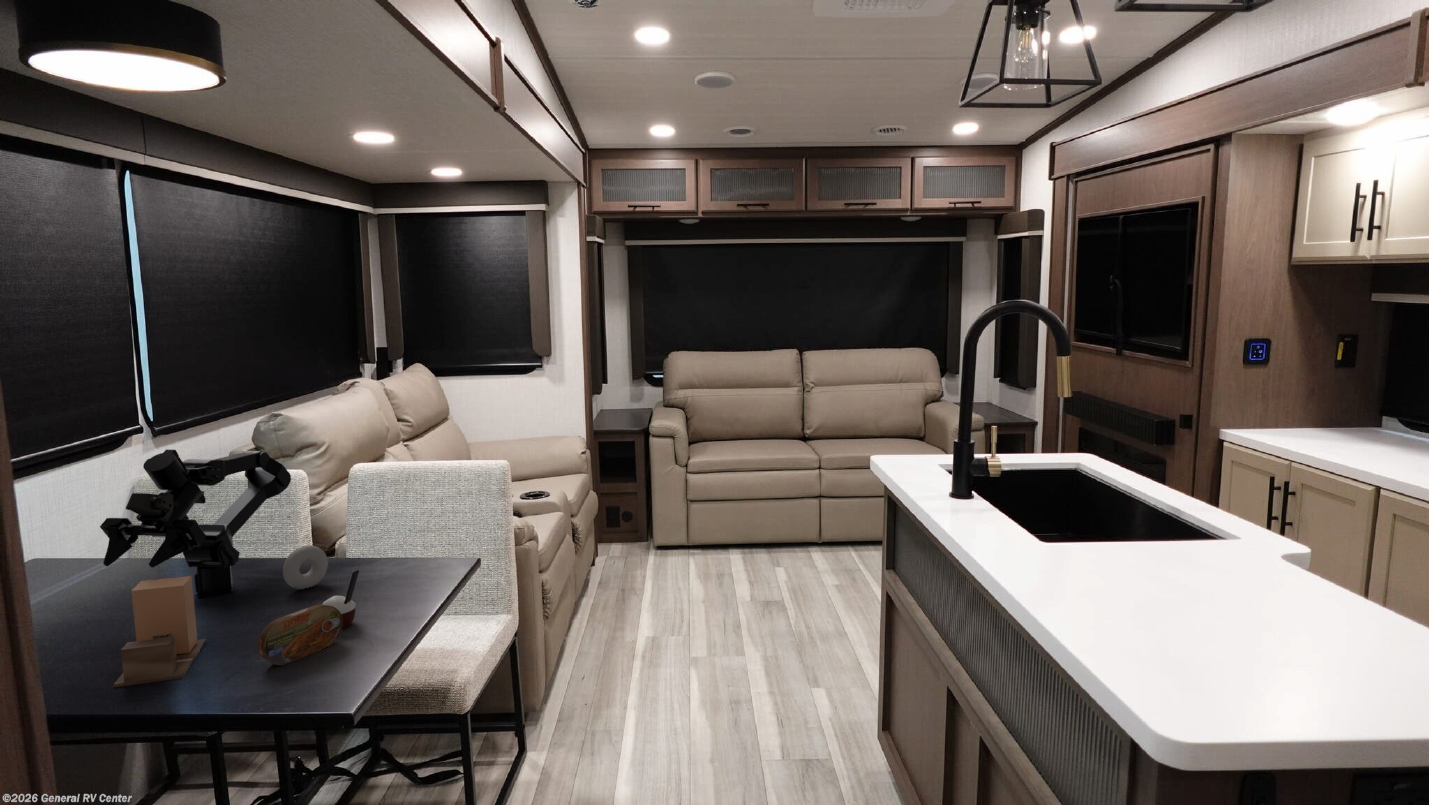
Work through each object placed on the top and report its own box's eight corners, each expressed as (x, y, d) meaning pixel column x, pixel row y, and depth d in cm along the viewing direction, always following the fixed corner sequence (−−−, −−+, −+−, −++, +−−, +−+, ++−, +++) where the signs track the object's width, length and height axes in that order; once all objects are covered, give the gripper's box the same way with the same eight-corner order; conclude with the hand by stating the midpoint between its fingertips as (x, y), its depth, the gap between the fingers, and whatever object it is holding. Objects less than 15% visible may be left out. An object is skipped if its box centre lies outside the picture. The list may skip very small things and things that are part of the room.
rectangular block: (147, 647, 145) (141, 581, 143) (197, 641, 147) (191, 576, 146) (138, 659, 140) (131, 590, 138) (189, 652, 143) (183, 585, 141)
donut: (289, 596, 172) (286, 553, 170) (281, 593, 173) (277, 550, 172) (332, 583, 180) (329, 541, 178) (323, 580, 182) (321, 539, 180)
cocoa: (314, 627, 157) (307, 571, 155) (344, 616, 162) (337, 561, 160) (338, 638, 151) (331, 579, 150) (368, 626, 156) (362, 569, 155)
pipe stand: (144, 649, 146) (141, 616, 145) (206, 641, 149) (203, 609, 148) (114, 687, 132) (110, 651, 131) (182, 678, 135) (179, 642, 134)
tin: (266, 673, 138) (263, 628, 136) (257, 668, 139) (253, 624, 138) (345, 641, 150) (342, 600, 149) (335, 637, 152) (333, 596, 151)
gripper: (111, 477, 157) (58, 537, 145) (199, 479, 156) (153, 540, 144) (139, 514, 164) (90, 574, 152) (223, 516, 163) (181, 576, 151)
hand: (127, 565), depth 150 cm, fingers open, 9 cm apart
